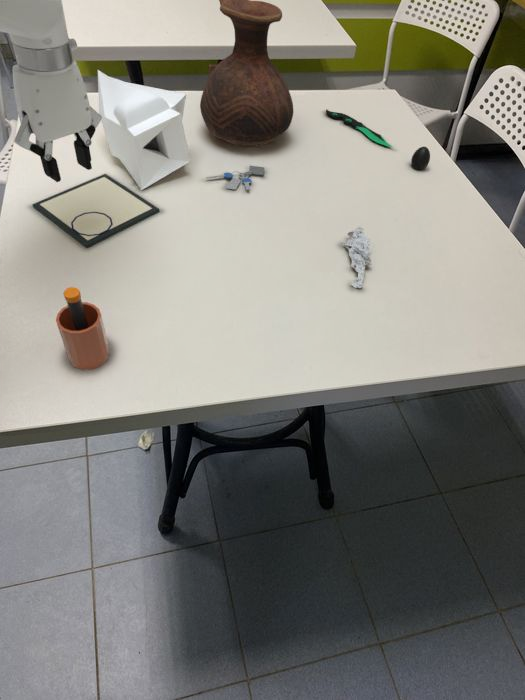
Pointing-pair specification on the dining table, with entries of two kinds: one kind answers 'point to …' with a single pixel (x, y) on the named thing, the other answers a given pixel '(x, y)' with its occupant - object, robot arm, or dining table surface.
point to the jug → (247, 81)
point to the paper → (358, 253)
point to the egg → (420, 158)
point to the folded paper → (143, 128)
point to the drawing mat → (95, 209)
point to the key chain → (235, 182)
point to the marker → (76, 308)
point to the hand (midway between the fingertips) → (69, 171)
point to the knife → (358, 127)
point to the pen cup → (84, 338)
